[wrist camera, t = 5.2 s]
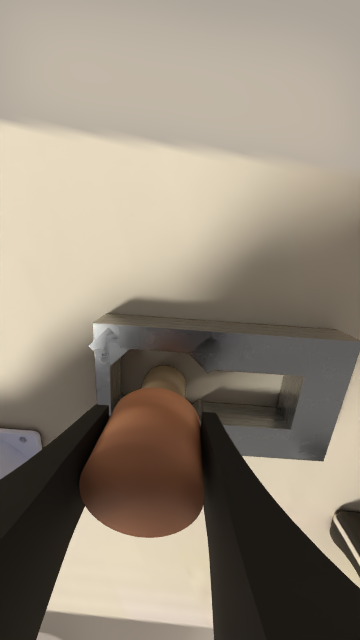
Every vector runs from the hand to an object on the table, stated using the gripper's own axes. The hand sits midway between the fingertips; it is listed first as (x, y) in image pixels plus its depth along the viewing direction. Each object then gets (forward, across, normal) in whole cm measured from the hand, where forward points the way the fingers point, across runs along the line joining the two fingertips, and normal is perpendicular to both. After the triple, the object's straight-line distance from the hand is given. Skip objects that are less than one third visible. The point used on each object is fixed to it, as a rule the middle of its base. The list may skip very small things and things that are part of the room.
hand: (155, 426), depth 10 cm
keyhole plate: (+4, -3, 0) cm, 6 cm away
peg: (+4, 0, 0) cm, 4 cm away
